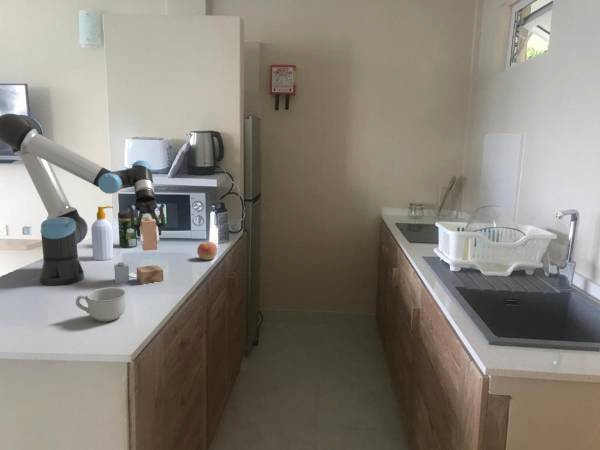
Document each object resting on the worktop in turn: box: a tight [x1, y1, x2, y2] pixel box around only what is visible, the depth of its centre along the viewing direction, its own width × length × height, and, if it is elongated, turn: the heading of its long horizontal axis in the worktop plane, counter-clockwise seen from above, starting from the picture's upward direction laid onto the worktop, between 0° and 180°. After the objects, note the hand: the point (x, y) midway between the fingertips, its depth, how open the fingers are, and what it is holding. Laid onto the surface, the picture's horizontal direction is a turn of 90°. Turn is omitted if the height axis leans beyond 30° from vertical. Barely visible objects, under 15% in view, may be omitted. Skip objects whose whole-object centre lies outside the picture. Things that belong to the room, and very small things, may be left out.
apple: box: [196, 241, 218, 261], centre depth 209 cm, size 9×9×8 cm
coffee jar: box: [117, 209, 138, 249], centre depth 232 cm, size 10×8×19 cm
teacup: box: [75, 287, 127, 323], centre depth 137 cm, size 14×11×8 cm
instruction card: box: [129, 271, 137, 278], centre depth 184 cm, size 8×6×1 cm
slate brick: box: [113, 261, 130, 284], centre depth 175 cm, size 5×5×7 cm
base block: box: [136, 264, 164, 286], centre depth 176 cm, size 8×8×5 cm
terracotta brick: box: [140, 216, 158, 252], centre depth 173 cm, size 5×5×12 cm
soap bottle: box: [90, 205, 114, 261], centre depth 206 cm, size 9×9×24 cm
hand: (150, 242), depth 170 cm, fingers closed on terracotta brick, 5 cm apart
